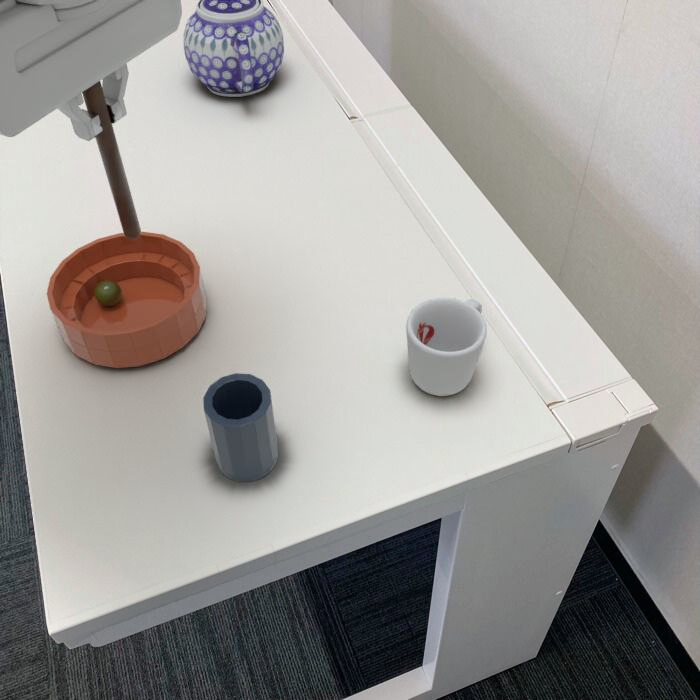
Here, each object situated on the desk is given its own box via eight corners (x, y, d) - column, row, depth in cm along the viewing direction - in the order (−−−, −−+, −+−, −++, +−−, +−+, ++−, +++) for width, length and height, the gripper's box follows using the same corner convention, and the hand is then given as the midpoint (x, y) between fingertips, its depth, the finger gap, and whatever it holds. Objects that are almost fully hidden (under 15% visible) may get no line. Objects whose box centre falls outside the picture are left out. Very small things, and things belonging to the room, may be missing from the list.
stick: (134, 245, 73) (76, 42, 58) (122, 240, 73) (61, 37, 58) (146, 236, 74) (91, 33, 58) (133, 230, 74) (76, 28, 59)
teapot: (298, 117, 116) (292, 19, 105) (196, 129, 114) (179, 30, 103) (274, 39, 133) (267, -53, 121) (184, 49, 131) (168, -44, 119)
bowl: (144, 394, 81) (131, 356, 76) (32, 337, 86) (14, 298, 82) (235, 300, 90) (229, 261, 86) (129, 254, 96) (118, 215, 91)
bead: (112, 315, 87) (105, 296, 85) (92, 305, 88) (85, 286, 86) (130, 299, 89) (124, 280, 87) (110, 290, 90) (104, 271, 88)
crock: (255, 492, 73) (245, 437, 66) (203, 465, 75) (189, 408, 68) (290, 447, 76) (284, 389, 69) (240, 421, 78) (229, 364, 72)
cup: (441, 323, 87) (447, 270, 81) (503, 354, 84) (515, 301, 78) (388, 383, 82) (390, 331, 76) (453, 418, 78) (461, 367, 72)
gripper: (-34, 25, 47) (37, 206, 57) (179, -87, 58) (206, 81, 69) (-102, 1, 49) (-22, 180, 59) (116, -102, 61) (152, 63, 71)
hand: (102, 126), depth 64 cm, fingers closed on stick, 1 cm apart
